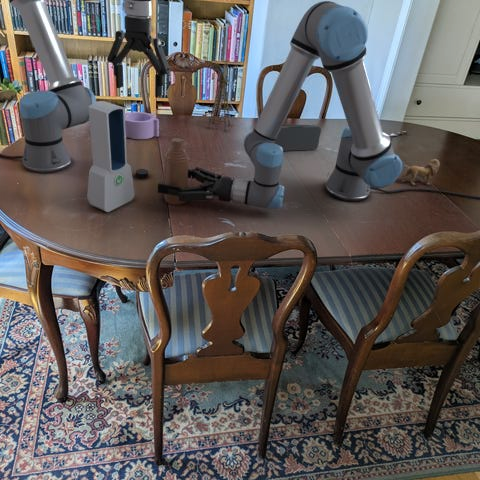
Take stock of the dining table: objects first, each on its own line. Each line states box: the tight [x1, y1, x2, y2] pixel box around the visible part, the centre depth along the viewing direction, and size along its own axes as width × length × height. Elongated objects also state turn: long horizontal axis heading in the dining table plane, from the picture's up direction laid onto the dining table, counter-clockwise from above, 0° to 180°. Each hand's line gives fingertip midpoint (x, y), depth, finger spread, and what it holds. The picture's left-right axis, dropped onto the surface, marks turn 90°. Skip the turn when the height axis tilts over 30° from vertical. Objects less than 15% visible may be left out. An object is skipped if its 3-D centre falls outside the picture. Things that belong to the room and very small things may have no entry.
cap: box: [135, 168, 149, 180], centre depth 158 cm, size 4×4×2 cm
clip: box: [125, 111, 160, 140], centre depth 188 cm, size 20×12×7 cm, turn 109°
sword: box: [387, 132, 406, 138], centre depth 214 cm, size 31×3×1 cm, turn 126°
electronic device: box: [86, 100, 135, 213], centre depth 133 cm, size 12×8×30 cm, turn 148°
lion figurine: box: [400, 158, 441, 186], centre depth 172 cm, size 15×5×9 cm, turn 110°
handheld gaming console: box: [274, 124, 322, 152], centre depth 189 cm, size 23×3×10 cm, turn 108°
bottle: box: [163, 137, 190, 205], centre depth 142 cm, size 7×7×20 cm
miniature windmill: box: [207, 57, 231, 131], centre depth 198 cm, size 9×8×30 cm
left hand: (138, 91), depth 143 cm, fingers open, 13 cm apart
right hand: (164, 179), depth 144 cm, fingers open, 12 cm apart
